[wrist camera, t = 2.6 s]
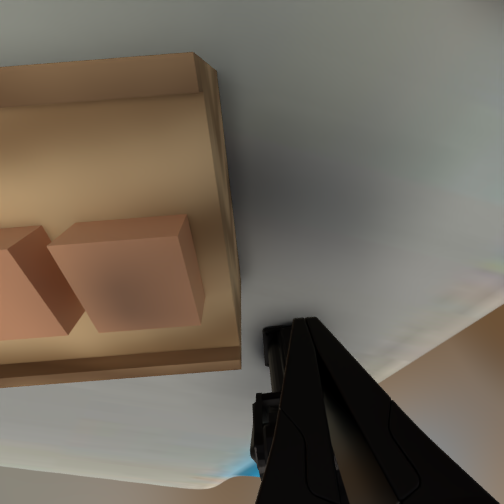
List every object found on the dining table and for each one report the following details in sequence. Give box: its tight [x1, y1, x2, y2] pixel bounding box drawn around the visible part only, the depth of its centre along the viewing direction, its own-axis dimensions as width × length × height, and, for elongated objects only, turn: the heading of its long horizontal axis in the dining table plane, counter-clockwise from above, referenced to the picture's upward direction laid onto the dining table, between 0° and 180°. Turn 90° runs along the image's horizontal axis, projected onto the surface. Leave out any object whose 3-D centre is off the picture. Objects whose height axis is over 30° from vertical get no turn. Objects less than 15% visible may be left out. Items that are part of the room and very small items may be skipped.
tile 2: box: [0, 225, 85, 341], centre depth 12 cm, size 5×5×2 cm
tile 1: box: [47, 214, 205, 333], centre depth 12 cm, size 5×5×2 cm
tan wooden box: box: [0, 52, 241, 388], centre depth 16 cm, size 16×22×9 cm
